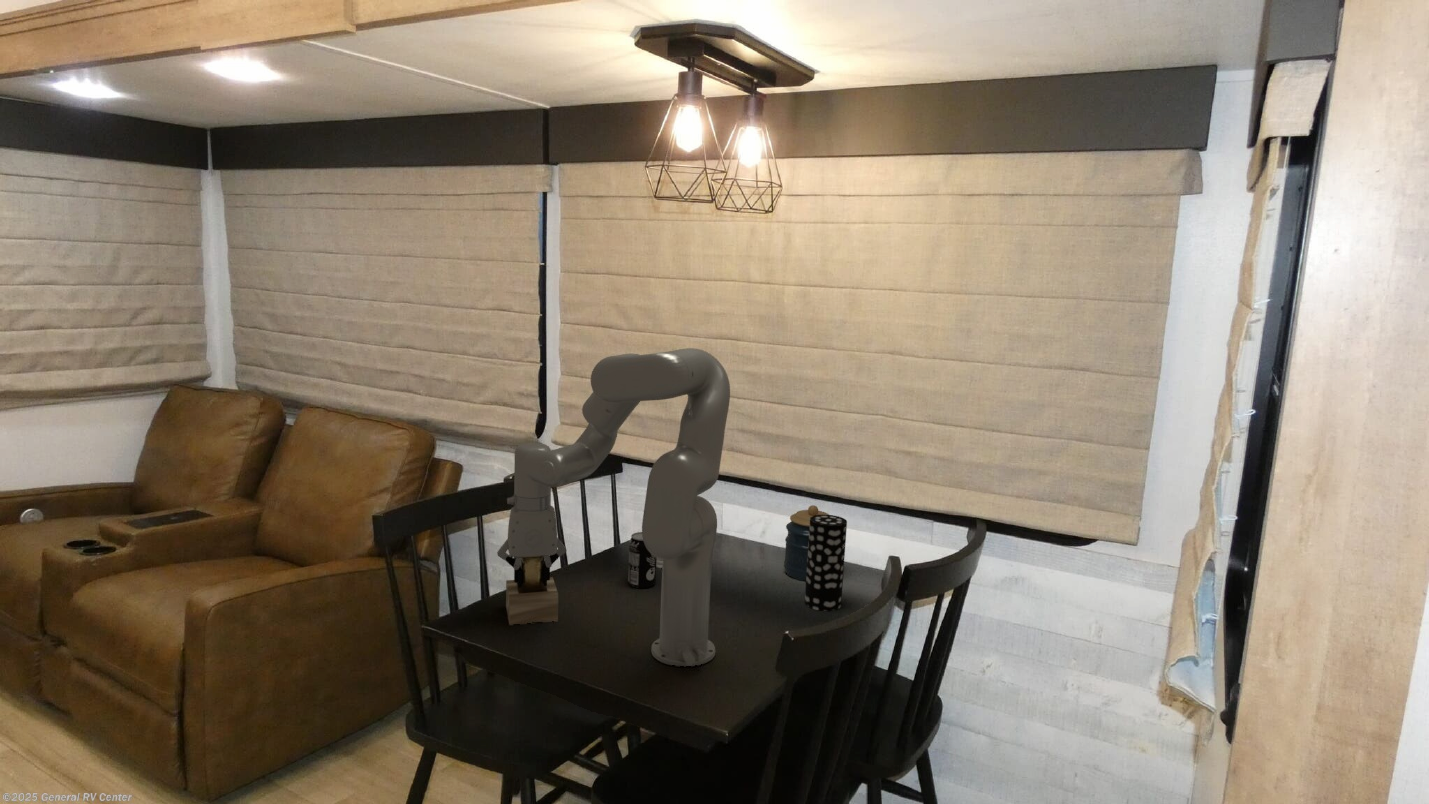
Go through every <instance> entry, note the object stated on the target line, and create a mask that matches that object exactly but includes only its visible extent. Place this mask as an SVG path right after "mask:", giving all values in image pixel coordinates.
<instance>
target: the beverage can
mask: <svg viewBox="0 0 1429 804" xmlns="http://www.w3.org/2000/svg"><path fill="white" fill-rule="evenodd" d="M628 543H629V544H628V569H627V570H628V577H627V581H628V583H629V585H630V586H631V587H633V588H636V589H648V588H652V587H653V586H654V584H655V583H656V582H657V567H656V562H657V557H655V556H653V555H652V554H651V553H650V552H649V551H648V549H647V548H646V546H645V544H644V541H643V536H642V531H638V532H634V533H632V534H631V537H630V539H629V542H628Z"/></svg>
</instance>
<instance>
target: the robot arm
mask: <svg viewBox="0 0 1429 804" xmlns="http://www.w3.org/2000/svg"><path fill="white" fill-rule="evenodd" d="M590 386H591V390H592V393H591V394H590V395H589V397H587V399H586V400H585V401H584V403H583V405H582V408H581V413H582V416H583V418H584V419H585V421H586V422H587V426H586V428H585V429H584V431H583V432H582V433H581V434H580V436H579V437H578V438H577V440H575V442H574V443H573V444H569V445H565V446H562V447H559V448H555V449H551V448H550V446H549V445H547V444H545V443H541V442H540V443H539V442H525V443H521V444H519V445H517V446H516V448H515V450H514V465H513V467H514V469H513V470H514V474H513V475H514V476H513V477H514V485H513V486H514V491H513V492H514V493H513V495H512V496H510V497H507V498H506V502H507V504H508V505H512V506H513V507H511V509H510V513H509V519H508V527H507V539H506V540H505V541H504V542H503V544H502V545H501V546H500V548H499V549H498V550H497V552H496V554H497V556H498V557H499V558H500V559H502V560H503V561H505V562H507V564H509V565H510V566H511V567H512V568H513V573H514V574H513V578H514V579H513V580H514V582H515V583H517V584H518V588H521V587H522V565H521V564H522V558H523V557H539V556H543V585H544V586H547V580H550V577H551V567H553V564H554V563H555V562H556V561H557V560H558V559H559V558H560V557H561V556H563V555H564V554H565V553H566V552H567V548H566V546H565V545H564V544H563V542H562V541H561V539H559V537H558V527H557V526H558V524H557V516H556V510H555V508H554V506H553V505H552V504H551V503H552V499H551V498H552V491H551V490H552V488H561V487H564V486H566V485H569V484H572V483H574V482H576V481H579V480H582V479H585V478H588V477H589V476H590V475H592V474H593V473H594V472H595V471H596V470H597V469H598V468H599V467H600V466H601V464H603V462H604V461H605V459H606V458H607V457H608V455H609V454H610V453H611V451H612V450H613V448H614V446H615V443H616V441H617V437H618V430H619V429H620V428H621V427H622V425H623V424H624V423H625V422H626V420H627V419H628V418H629V416H630V415H631V414H632V413H633V411H634V410H635V409H636V408H637V406H638V405H639V404H640V403H641V402H647V401H648V402H649V401H662V400H664V401H665V400H670V399H671V400H672V399H674V398H678V397H682V396H686V395H687V402H686V404H685V407H684V409H683V412H682V415H681V418H680V422H679V423H680V426H679V433H678V438H677V443H676V447H675V448H674V449H671V450H669V451H667V452H665V453H663V454H662V455H660V456H659V457H658V458H657V459H656V460H655V462H654V463H653V464H652V467H651V470H650V472H649V476H648V478H647V479H648V480H647V486H646V494H645V501H644V507H643V508H644V509H643V514H642V523H641V524H642V525H641V532H642V536H643V541H644V544H645V546H646V548H647V549H648V551H649V552H650V553H651V554H652V555H653V556H655V557H657V558H659V559H663V566H662V569H661V589H660V590H661V591H660V595H661V596H660V617H659V618H660V620H659V621H660V622H659V638H657V639H656V640H655V641H653V642H652V644H651V655H652V657H653V658H654V659H656V660H657V661H659V662H661V663H662V664H664V665H669V666H672V665H675V666H674V667H680V666H684V668H685V667H686V666H691V667H696V666H695V665H697V666H701V664H702V665H704V664H706V663H708V662H710V661H711V660H713V659H714V657H715V656H716V646H715V644H714V642H712V641H711V640H709V624H710V622H709V621H710V601H711V597H710V596H711V580H712V564H713V562H712V560H713V552H714V548H715V541H716V536H717V532H718V531H717V529H718V516H717V513H716V510H715V508H714V506H713V505H712V503H710V501H709V500H708V499H706V498H704V497H702V496H699V495H700V494H701V495H702V494H703V493H705V492H707V491H708V490H710V489H712V487H713V486H714V485H715V484H716V483H717V482H718V481H717V480H718V479H719V474H720V469H721V462H722V461H721V460H722V454H723V447H724V441H725V433H726V431H725V430H726V425H727V419H728V414H729V407H730V402H731V401H730V400H731V385H730V380H729V376H728V374H727V372H726V369H725V368H724V366H723V365H722V363H721V362H720V361H719V360H718V359H717V357H715V356H714V355H712V354H711V353H709V352H707V351H705V350H703V349H700V348H692V347H690V348H681V349H675V350H669V351H662V352H656V353H654V352H653V353H647V354H644V353H643V354H638V353H623V354H616V355H612V356H607V357H606V356H605V357H604V358H602V359H600V360H599V361H598V362H597V363H596V365H595V366H594V367H593V369H592V371H591V375H590ZM507 552H508V553H507ZM686 668H687V667H686Z"/></svg>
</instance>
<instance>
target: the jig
mask: <svg viewBox="0 0 1429 804" xmlns="http://www.w3.org/2000/svg"><path fill="white" fill-rule="evenodd" d="M505 582H506V583H505V598H506V599H505V608H506V614H507V620H508V624H509V625H508V626H514V625H513V624H520V625H528V624H527V623H531V624H533V623H532V622H543V623H551V622H552V621H554V622H559V592H558V590H557V589H558V588H557V586H556V583H555V580H554V577H553V576H552V577H551V576H550V580H547V586H544V585H543V591H542V592H533V593H522V587H521V588H518V584H517V583H515V582H514V579H509V580H505Z"/></svg>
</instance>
